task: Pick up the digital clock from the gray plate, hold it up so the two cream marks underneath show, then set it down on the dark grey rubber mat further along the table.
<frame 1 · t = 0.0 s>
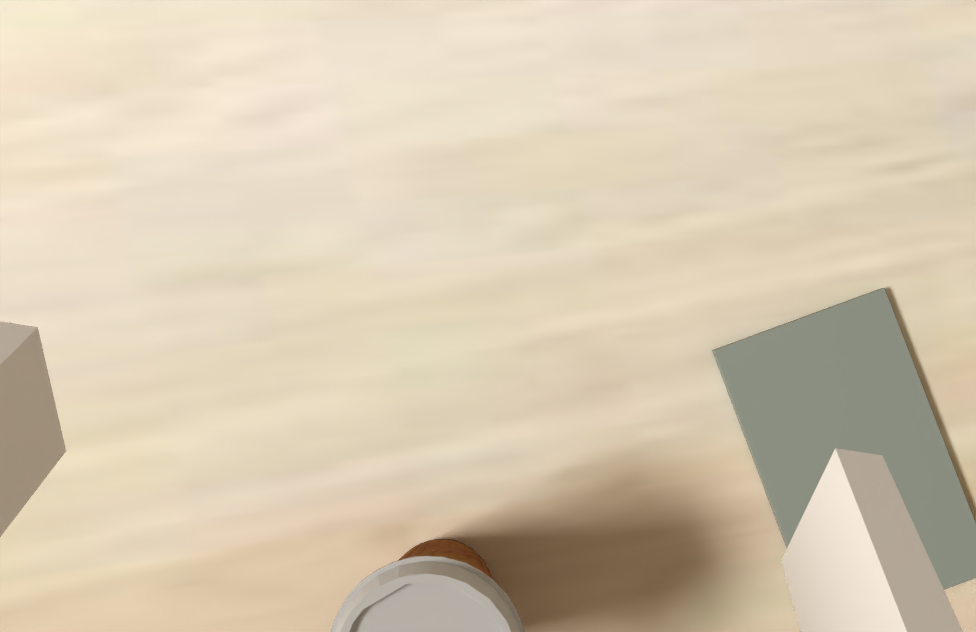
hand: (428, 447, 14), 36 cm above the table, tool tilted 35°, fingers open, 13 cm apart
side mat: (849, 458, 49), on the table
disposable coffee cup: (441, 590, 49), on the table
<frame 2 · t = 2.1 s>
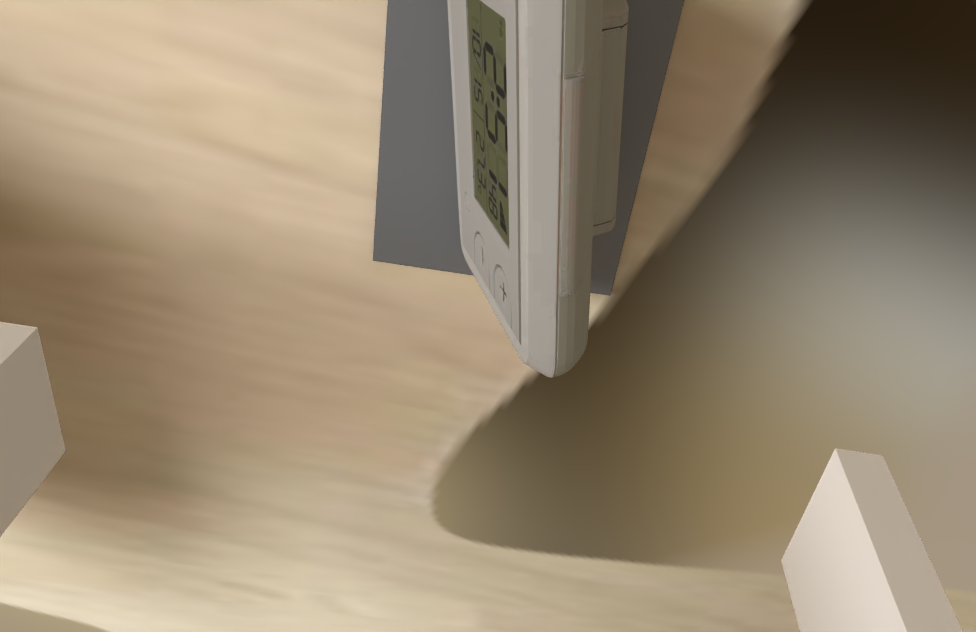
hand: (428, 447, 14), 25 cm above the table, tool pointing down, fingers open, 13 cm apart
digital clock: (520, 91, 36), resting on gray plate
gray plate: (520, 90, 36), on the table
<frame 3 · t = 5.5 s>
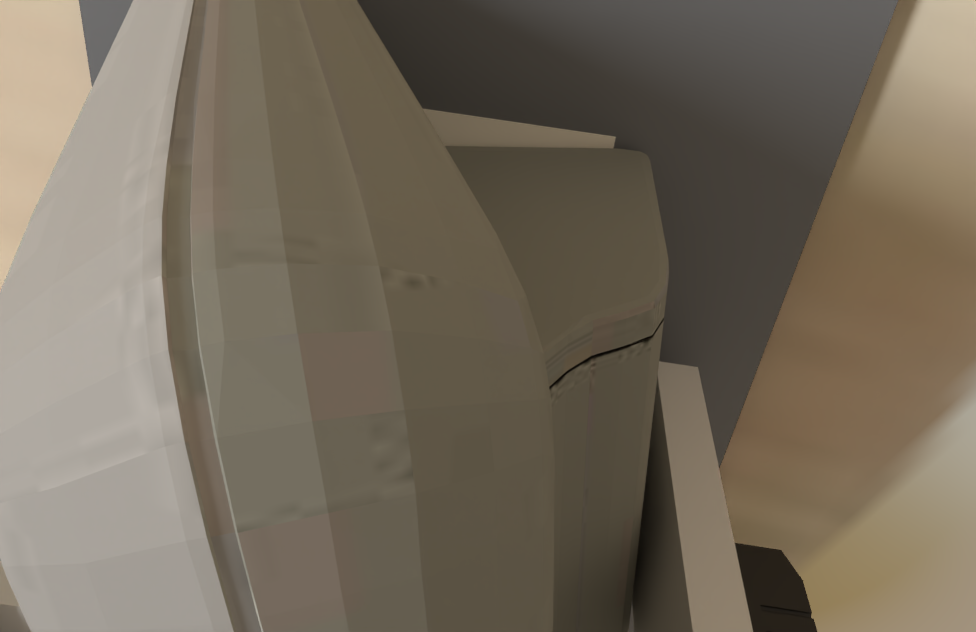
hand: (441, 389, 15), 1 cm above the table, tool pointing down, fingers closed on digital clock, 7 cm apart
digital clock: (412, 354, 16), resting on gray plate, touching gripper
gray plate: (436, 354, 16), on the table
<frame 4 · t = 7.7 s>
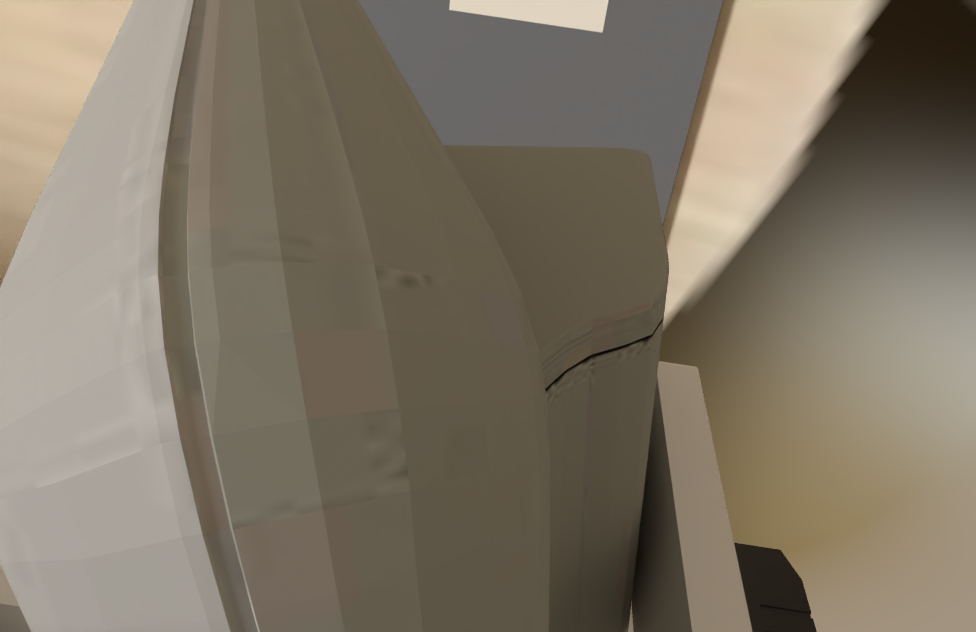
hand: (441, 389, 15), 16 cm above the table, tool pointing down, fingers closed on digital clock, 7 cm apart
digital clock: (413, 352, 16), point 15 cm above the table, touching gripper
gray plate: (513, 107, 28), on the table
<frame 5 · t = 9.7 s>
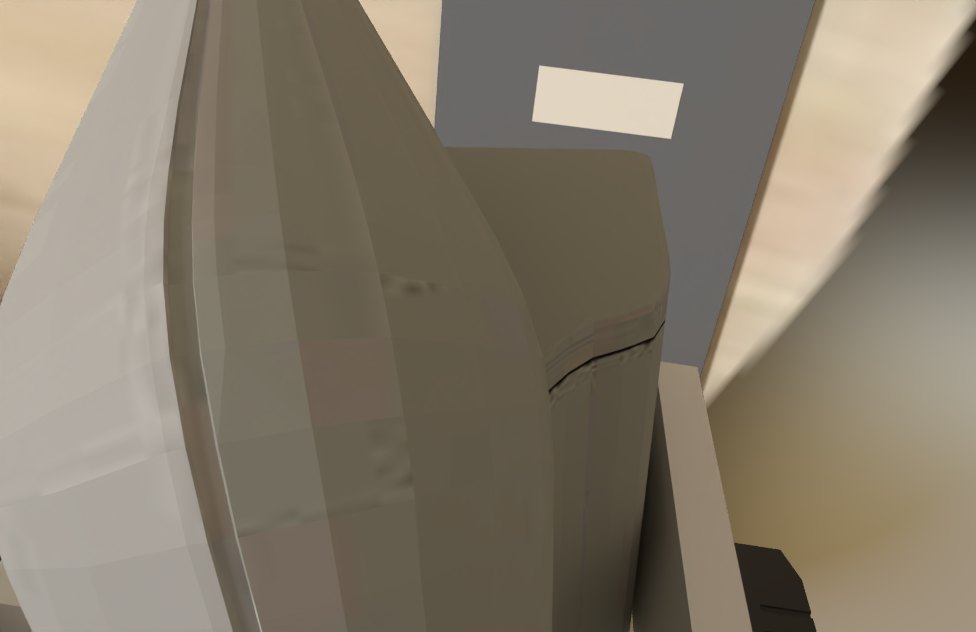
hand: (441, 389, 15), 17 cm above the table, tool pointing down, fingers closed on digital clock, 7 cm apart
digital clock: (414, 354, 16), point 16 cm above the table, touching gripper
gray plate: (587, 202, 31), on the table
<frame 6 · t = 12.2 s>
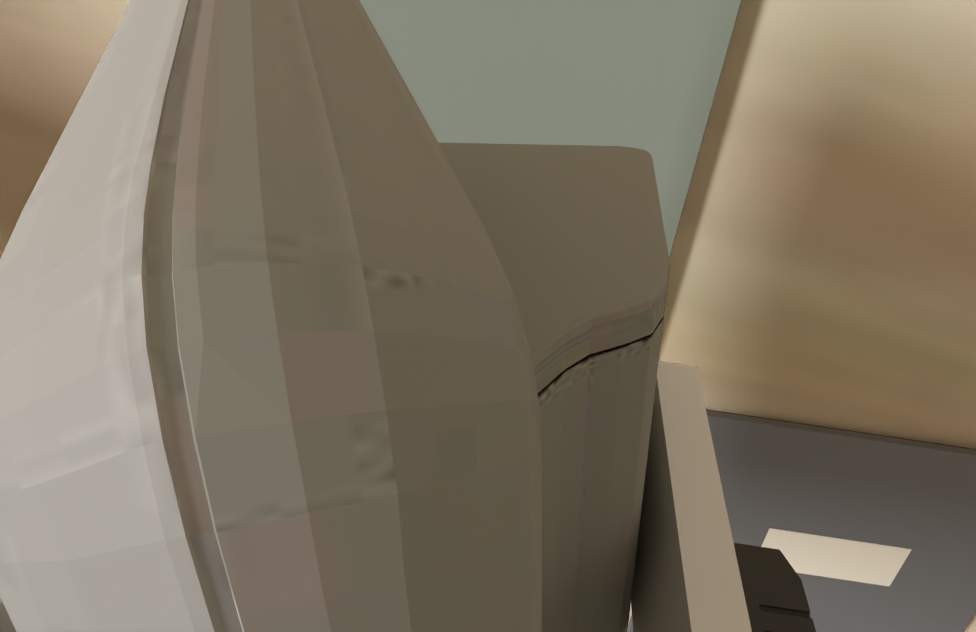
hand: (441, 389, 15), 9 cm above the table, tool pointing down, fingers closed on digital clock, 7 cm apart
digital clock: (414, 350, 16), point 8 cm above the table, touching gripper
gray plate: (792, 620, 31), on the table
side mat: (480, 189, 23), on the table
when the fingers open (3 cm above the table, at t = 14.1 s): digital clock drops 2 cm, resting on side mat.
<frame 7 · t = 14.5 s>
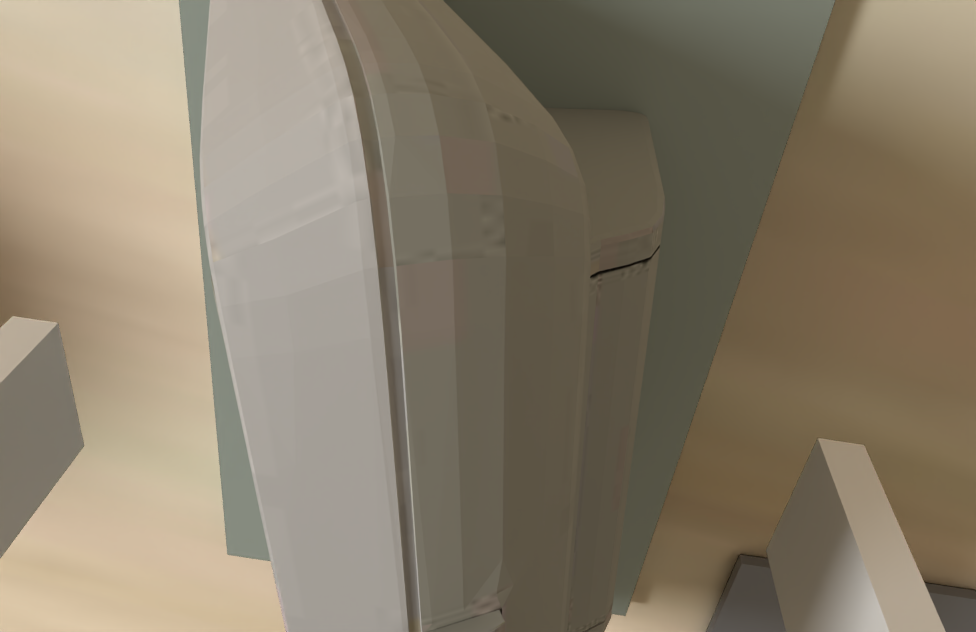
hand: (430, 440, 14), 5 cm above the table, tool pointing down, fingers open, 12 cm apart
digital clock: (428, 299, 17), resting on side mat
side mat: (461, 300, 18), on the table
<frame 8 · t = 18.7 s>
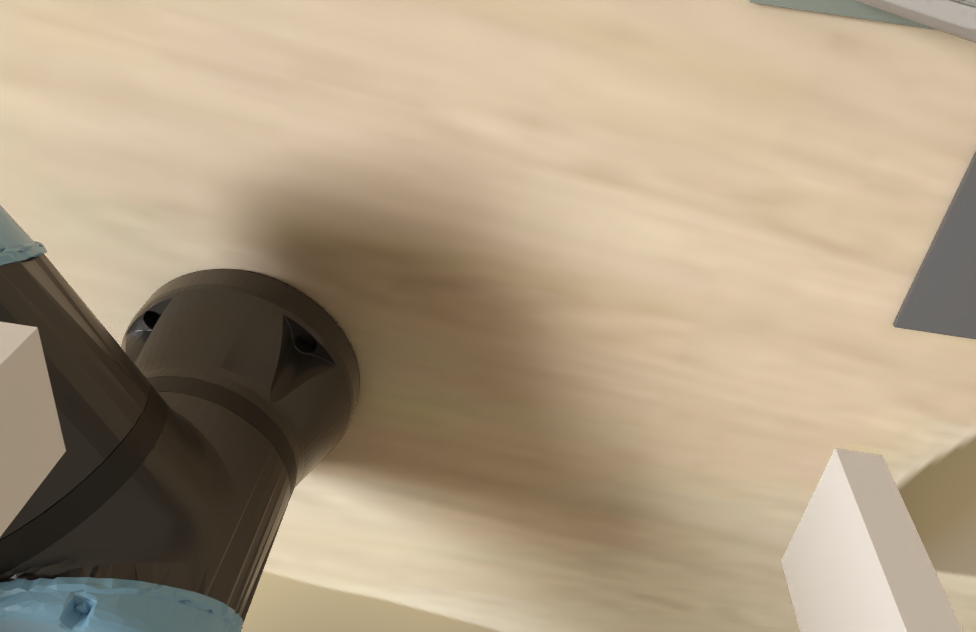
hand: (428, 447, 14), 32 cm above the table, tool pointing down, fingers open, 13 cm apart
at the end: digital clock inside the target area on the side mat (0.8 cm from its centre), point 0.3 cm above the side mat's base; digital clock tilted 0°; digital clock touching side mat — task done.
